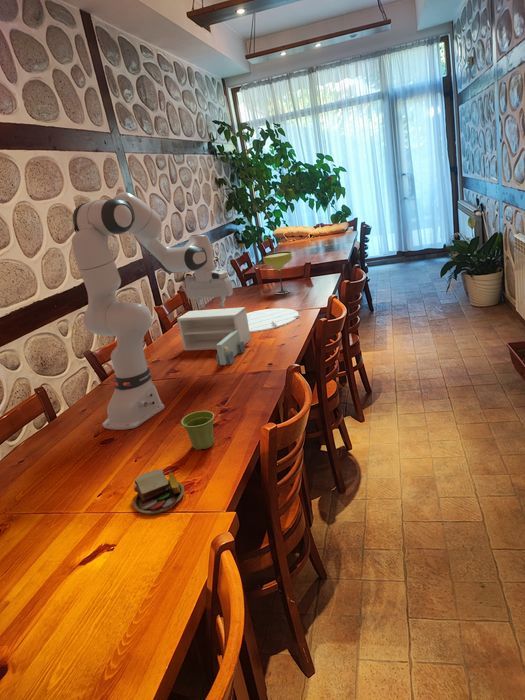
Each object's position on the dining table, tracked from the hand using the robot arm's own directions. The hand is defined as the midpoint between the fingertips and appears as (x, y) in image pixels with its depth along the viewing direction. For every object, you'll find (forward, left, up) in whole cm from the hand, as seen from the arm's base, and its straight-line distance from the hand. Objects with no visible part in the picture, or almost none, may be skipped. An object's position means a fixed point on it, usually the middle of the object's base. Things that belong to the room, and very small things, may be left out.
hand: (212, 307), depth 195 cm
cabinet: (+19, +12, -24) cm, 32 cm away
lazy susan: (+55, +2, -24) cm, 60 cm away
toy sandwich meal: (-90, -24, -24) cm, 97 cm away
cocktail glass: (+115, +10, -24) cm, 118 cm away
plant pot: (-66, -24, -24) cm, 74 cm away
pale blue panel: (+2, -3, -23) cm, 23 cm away
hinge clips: (+2, -3, -24) cm, 24 cm away
